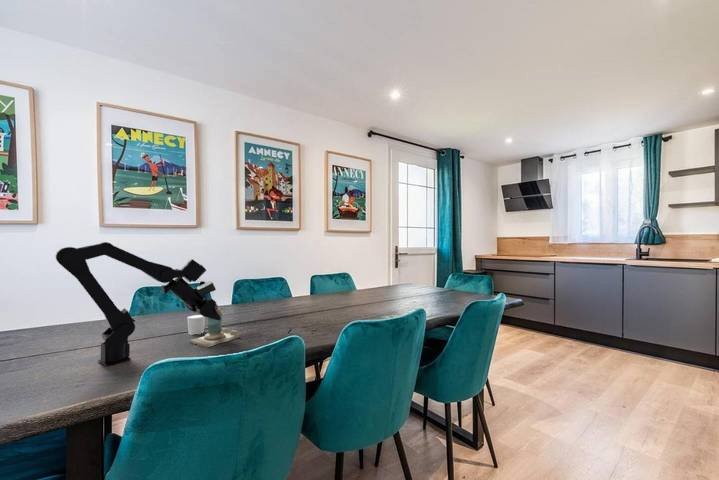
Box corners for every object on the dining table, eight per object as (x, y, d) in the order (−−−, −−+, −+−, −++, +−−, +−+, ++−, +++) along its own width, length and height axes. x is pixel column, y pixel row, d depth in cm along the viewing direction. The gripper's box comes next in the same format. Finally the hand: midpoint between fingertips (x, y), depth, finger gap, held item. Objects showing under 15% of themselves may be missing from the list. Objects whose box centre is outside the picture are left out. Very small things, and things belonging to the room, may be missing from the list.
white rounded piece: (200, 335, 128) (200, 318, 128) (183, 335, 129) (183, 318, 129) (208, 330, 135) (208, 314, 135) (192, 330, 135) (192, 314, 135)
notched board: (206, 347, 114) (206, 340, 114) (189, 342, 119) (189, 336, 119) (238, 337, 126) (238, 331, 126) (222, 333, 131) (222, 327, 131)
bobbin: (217, 340, 119) (217, 306, 119) (201, 339, 120) (201, 306, 120) (227, 335, 125) (227, 303, 125) (212, 334, 126) (213, 302, 127)
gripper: (210, 277, 113) (240, 304, 120) (193, 273, 126) (220, 297, 133) (186, 302, 107) (219, 328, 115) (170, 295, 120) (200, 319, 128)
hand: (215, 317), depth 123 cm, fingers open, 9 cm apart
